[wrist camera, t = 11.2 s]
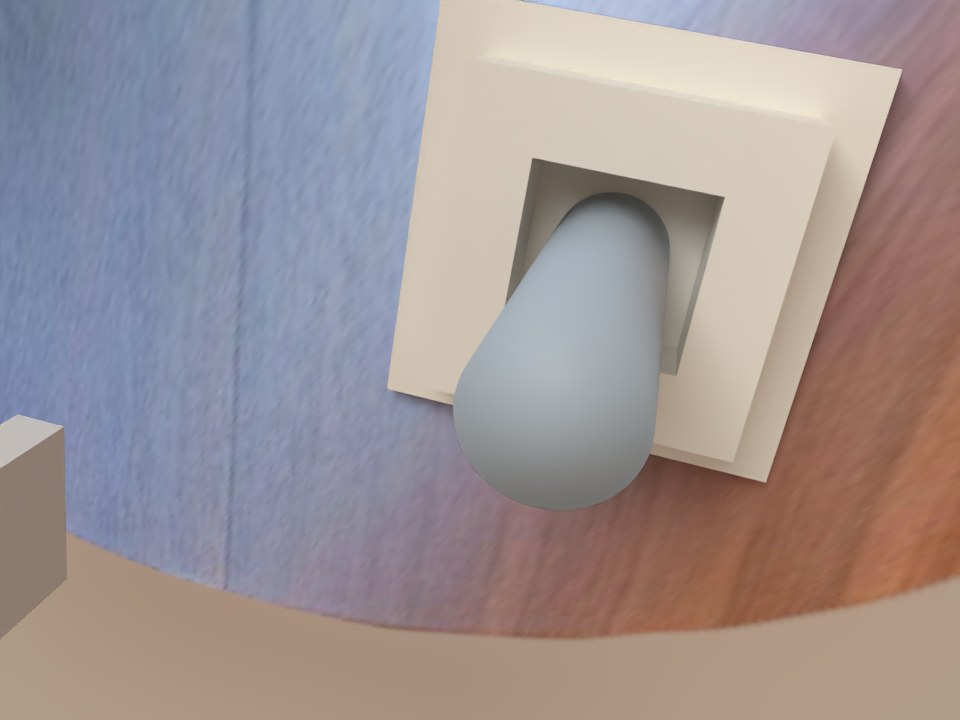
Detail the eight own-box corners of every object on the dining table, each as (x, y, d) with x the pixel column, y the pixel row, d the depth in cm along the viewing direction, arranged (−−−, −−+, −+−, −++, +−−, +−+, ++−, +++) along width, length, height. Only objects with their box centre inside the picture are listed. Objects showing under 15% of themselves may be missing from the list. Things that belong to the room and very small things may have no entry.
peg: (543, 291, 35) (439, 482, 21) (565, 181, 33) (470, 302, 19) (654, 316, 35) (629, 532, 20) (682, 205, 33) (678, 350, 18)
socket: (392, 381, 39) (361, 419, 35) (448, -13, 33) (417, -18, 29) (764, 473, 37) (772, 523, 33) (897, 68, 31) (925, 74, 27)
